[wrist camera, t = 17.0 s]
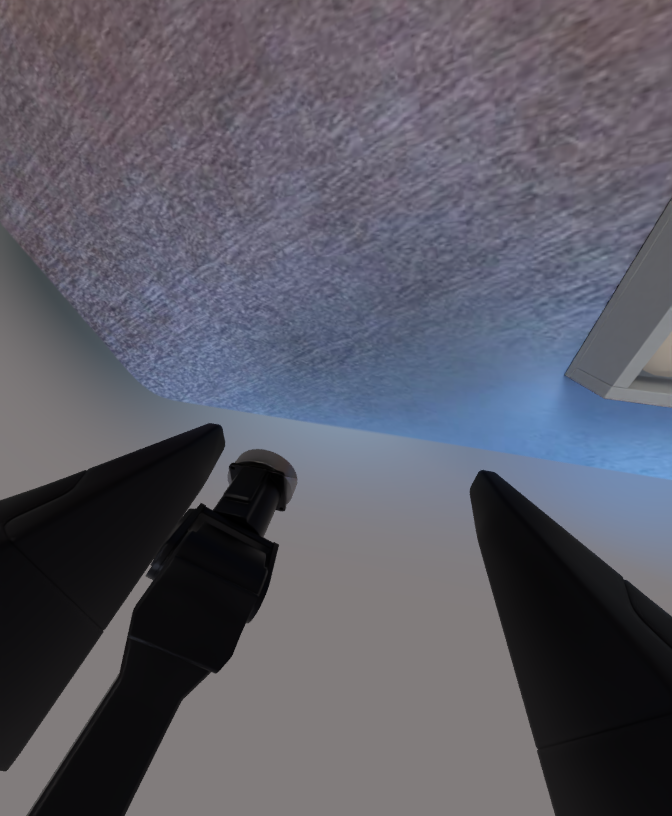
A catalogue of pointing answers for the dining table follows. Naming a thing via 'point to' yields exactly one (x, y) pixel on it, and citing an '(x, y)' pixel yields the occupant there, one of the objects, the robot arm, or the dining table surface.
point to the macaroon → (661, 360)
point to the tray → (633, 328)
